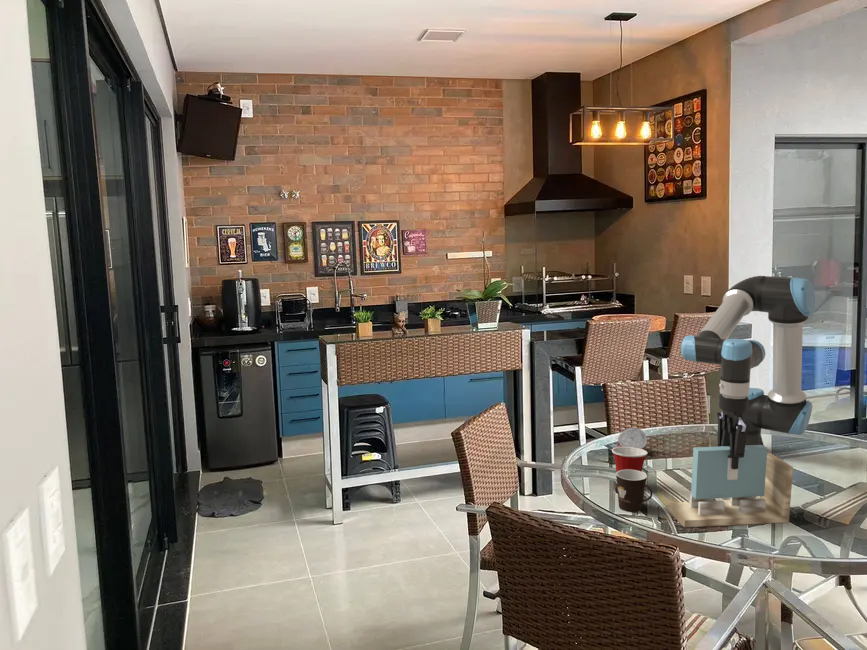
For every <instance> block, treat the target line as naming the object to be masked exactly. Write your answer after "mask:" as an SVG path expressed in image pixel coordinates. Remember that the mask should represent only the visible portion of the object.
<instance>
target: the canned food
mask: <svg viewBox="0 0 867 650" xmlns="http://www.w3.org/2000/svg"><path fill="white" fill-rule="evenodd" d="M617 440H618V441H617V444H616V445H617V446H616V447H634V448H639V449H643V450H645V451H647V444H648V438H647V436H646V433H645V432H644V431H643V429H640V428H638V427H629V428H627V429H624V430H623V431H622V432H621V433H620V434H619V435H618V438H617Z"/></svg>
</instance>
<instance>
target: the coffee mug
mask: <svg viewBox="0 0 867 650" xmlns="http://www.w3.org/2000/svg"><path fill="white" fill-rule="evenodd" d="M615 476H616V488H617V500H618V501H617V502H618V508H619V509H620V510H622V511H623V512H627V513H628V512H629V513H637V512H638V513H639V512H641V510H642V508H643V503H644V502H645V503H646V502H647V501H649V500H650V499H652V497H653V490H652V488H651V487H650V486H649V485H647V478H648V475H647V474H646V473H645V472H643V471H642V472H641V471H637V470H629V469H628V470H620V471H618V472H616V471H615ZM645 489H648V490H649V496H648V498H645V499H644V495H645V492H646V491H645Z"/></svg>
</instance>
